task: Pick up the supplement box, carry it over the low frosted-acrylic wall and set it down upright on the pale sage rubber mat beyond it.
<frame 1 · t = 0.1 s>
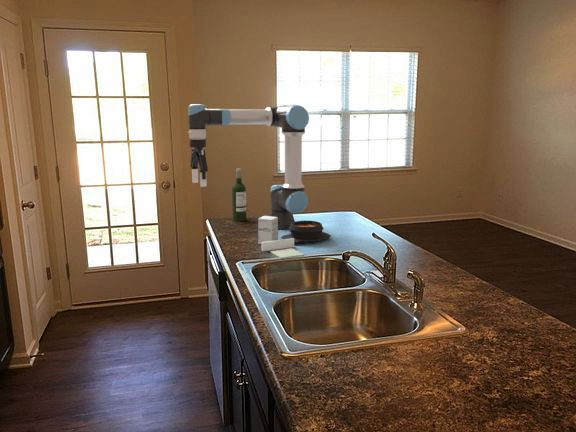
hand: (199, 184, 225), 28 cm above the worktop, fingers open, 13 cm apart
acrylic wall: (278, 248, 220), on the worktop
wine bottle: (239, 220, 280), on the worktop
sage mat: (286, 253, 212), on the worktop
casserole: (306, 240, 236), on the worktop
supplement box: (268, 243, 230), on the worktop
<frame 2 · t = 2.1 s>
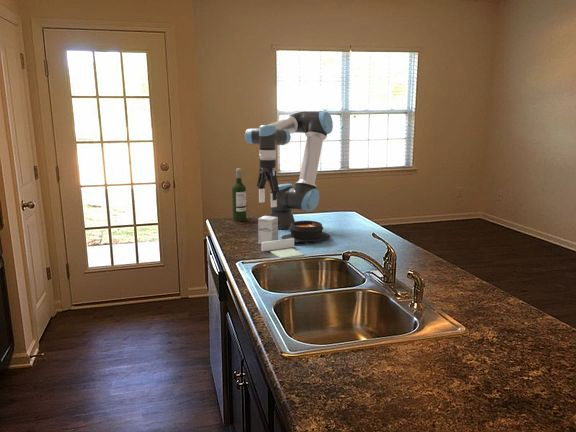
hand: (267, 204, 226), 19 cm above the worktop, fingers open, 13 cm apart
nothing on the worktop moved.
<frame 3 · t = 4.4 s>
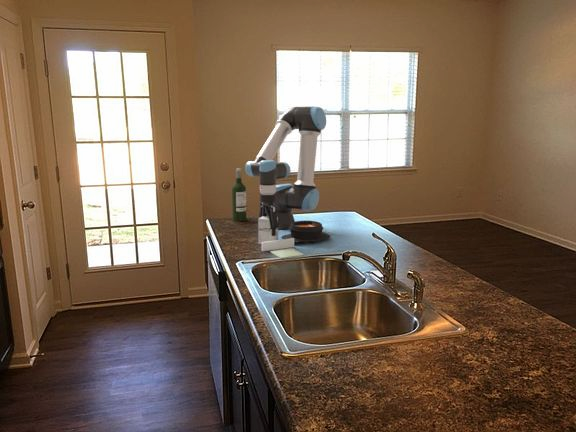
hand: (268, 239, 229), 2 cm above the worktop, fingers closed on supplement box, 10 cm apart
supplement box: (268, 243, 230), on the worktop, touching gripper
everything else where it was.
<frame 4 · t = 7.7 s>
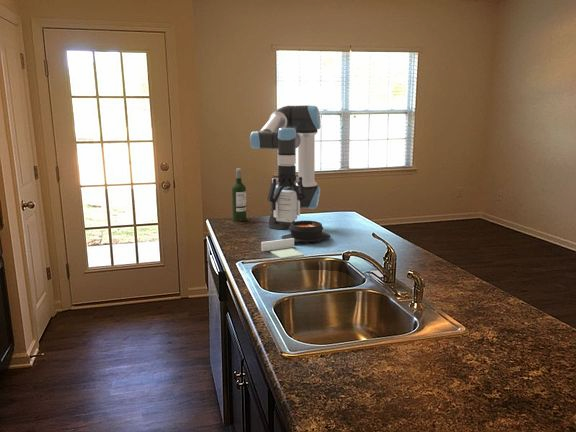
hand: (286, 216, 209), 17 cm above the worktop, fingers closed on supplement box, 10 cm apart
supplement box: (286, 220, 209), point 15 cm above the worktop, touching gripper
everything else where it was.
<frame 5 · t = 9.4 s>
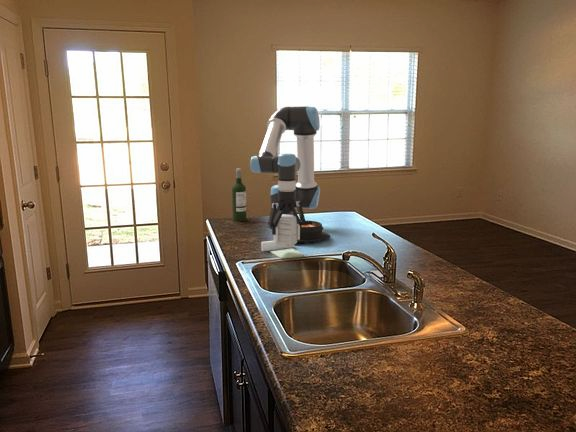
hand: (286, 240, 211), 6 cm above the worktop, fingers closed on supplement box, 10 cm apart
supplement box: (286, 244, 211), point 4 cm above the worktop, touching gripper
everything else where it was.
when the fingers open (3 cm above the worktop, at t = 11.0 s): supplement box drops 1 cm, resting on sage mat.
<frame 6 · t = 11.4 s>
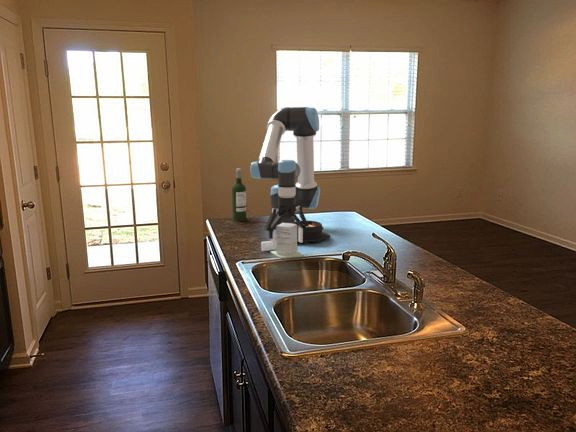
hand: (286, 244, 211), 5 cm above the worktop, fingers open, 13 cm apart
supplement box: (286, 253, 212), resting on sage mat
everything else where it was.
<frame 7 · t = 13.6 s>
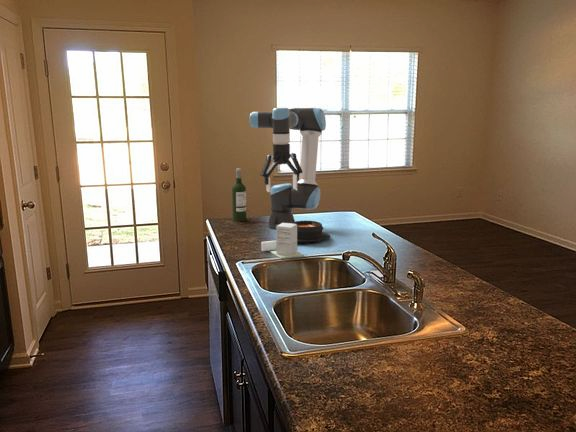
hand: (281, 190, 220), 26 cm above the worktop, fingers open, 13 cm apart
nothing on the worktop moved.
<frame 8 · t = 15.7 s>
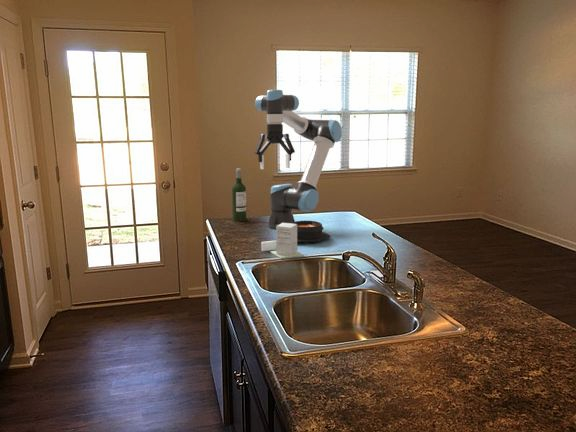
hand: (275, 168, 232), 35 cm above the worktop, fingers open, 13 cm apart
nothing on the worktop moved.
at the end: supplement box inside the target area on the sage mat (0.1 cm from its centre), point 0.3 cm above the sage mat's base; supplement box tilted 0°; the gripper is holding nothing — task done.
